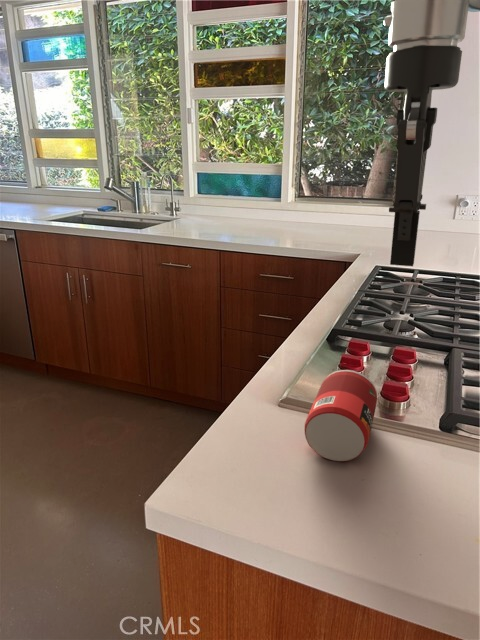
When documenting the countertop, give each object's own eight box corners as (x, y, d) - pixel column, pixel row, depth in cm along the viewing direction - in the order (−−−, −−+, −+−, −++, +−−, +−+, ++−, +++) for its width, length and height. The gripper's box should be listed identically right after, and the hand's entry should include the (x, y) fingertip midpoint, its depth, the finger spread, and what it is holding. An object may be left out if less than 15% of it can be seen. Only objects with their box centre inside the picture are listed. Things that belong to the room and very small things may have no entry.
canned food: (375, 424, 54) (384, 379, 63) (309, 401, 56) (327, 361, 66) (358, 472, 57) (369, 423, 67) (297, 449, 60) (316, 405, 69)
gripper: (394, 58, 56) (378, 249, 65) (378, 43, 45) (362, 276, 54) (462, 52, 53) (436, 253, 62) (463, 34, 42) (431, 282, 51)
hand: (402, 263), depth 58 cm, fingers closed
